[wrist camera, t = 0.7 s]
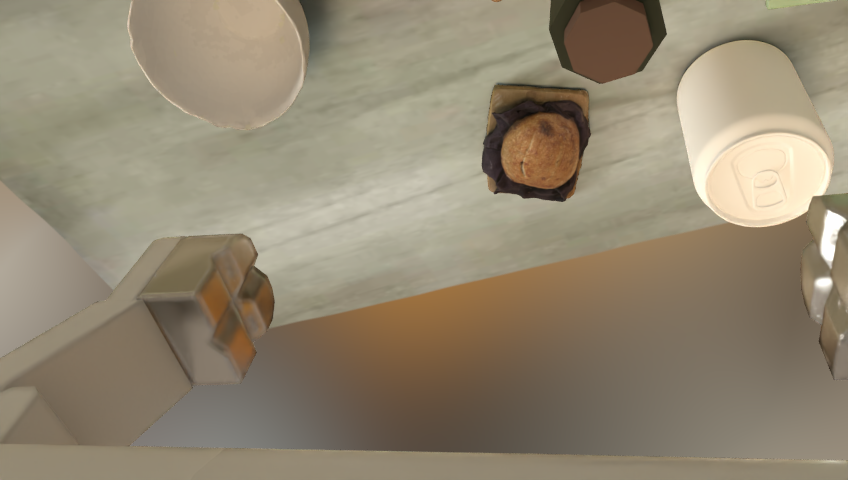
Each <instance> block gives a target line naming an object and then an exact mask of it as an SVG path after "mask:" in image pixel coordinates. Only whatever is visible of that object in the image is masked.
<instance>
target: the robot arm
mask: <svg viewBox="0 0 848 480" xmlns="http://www.w3.org/2000/svg"><path fill="white" fill-rule="evenodd" d="M806 223H807V225H808V227H809V230H810V232H811V234H812V236H813V240H812V241H811V242H810V243H809V244H808V245H807V246H806V247H805V248H804V249H803V250H802V258H801V268H800V273H801V290H802V295H803V299H804V304H805V306H806V309H807V311H808V315H809V317H810V318H811V319H813V320H814V321H816V322H817V323H819V324H820V325H821V331H820V338H819V344H820V346H821V349H822V351H823V354H824V356H825V358H826V361H827V363H828V366H829V369H830V371H831V374H832V376H833V379H834V380H848V193H843V194H831V195H819V196H813V197H812V199H811V202H810V204H809V208H808V214H807V221H806ZM257 256H258V253H257V251H256V249H255V247H254V245H253V243H252V241H251V239H250V238H249V237H247V236H245V235H243V234H223V235H201V236H188V237H185V236H180V237H167V238H161V239H158V240H154V241H153V242H152V243H151V245H150V246H149V247H148V248H147V250H146V251H145V252H144V253H143V255H142V256H141V257H140V258H139V260H138V261H137V262H136V263H135V265H134V266H133V267H132V268H131V270H130V271H129V272H128V273H127V275H126V276H125V277H124V278H123V280H122V281H121V282H120V283H119V285H118V286H117V287H116V288H115V289H114V291H113V292H112V293H111V294H110V296H109V297H108V298H107V300H106V301H97V302H95V303H93V304H92V305H90V306H88V307H87V308H85V309H83V310H82V311H80V312H78V313H77V314H75V315H73V316H71V317H70V318H68V319H66V320H65V321H63V322H61V323H59V324H58V325H56V326H54V327H53V328H51V329H49V330H47V331H46V332H44V333H42V334H41V335H39V336H37V337H36V338H34V339H32V340H30V341H29V342H27V343H25V344H24V345H22V346H20V347H18V348H17V349H15V350H13V351H12V352H10V353H8V354H7V355H5V356H3V357H2V358H0V480H848V460H801V459H800V460H799V459H794V460H793V459H750V458H705V457H704V458H703V457H702V458H701V457H657V456H611V455H566V454H564V455H563V454H516V453H515V454H514V453H462V452H409V451H406V452H405V451H354V450H300V449H250V448H249V449H248V448H247V449H246V448H198V447H148V446H145V447H144V446H130V445H131V444H132V443H133V442H134V441H135V440H136V439H137V438H139V437H140V435H142V434H143V433H144V432H145V431H146V430H147V429H148V428H150V426H152V425H153V424H154V423H155V422H156V421H157V420H158V419H159V418H161V417H162V416H163V415H164V414H165V413H166V412H167V411H168V410H169V409H171V408H172V407H173V405H175V404H176V403H177V402H178V401H179V400H180V399H182V398H183V397H184V396H185V395H186V394H187V393H188V392H189V391H190V390H191V389H192V388H193V387H192V386H193V385H221V384H241V383H242V380H243V379H244V377H245V375H246V373H247V371H248V369H249V367H250V364H251V363H252V361H253V359H254V357H255V355H256V350H255V347H254V345H253V342H254V341H256V340H257V339H258V338H260V337H261V336H262V335H263V334H265V333H266V332H267V330H268V328H269V326H270V324H271V321H272V319H273V311H274V303H275V302H274V296H273V290H272V286H271V284H270V282H269V279H268V277H267V276H266V275H265V274H264V273H263V272H261V271H260V270H259V269H258V268H256V267H255V266H254V265H255V262H256V259H257Z"/></svg>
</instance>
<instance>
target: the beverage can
mask: <svg viewBox="0 0 848 480" xmlns="http://www.w3.org/2000/svg"><path fill="white" fill-rule="evenodd" d="M677 107H678V112H679V116H680V121H681V126H682V130H683V135H684V140H685V144H686V149H687V153H688V158H689V163H690V167H691V172H692V177H693V181H694V185H695V188H696V191H697V193H698V195H699V196H700V198H701V199H702V200H703V202H704V203H705V204H706V205H707V206H708V207H710V208H711V209H712V210H713V211H714V212H715V213H716V214H717V215H718V216H720V217H721V218H723V219H725V220H726V221H729V222H731V223H734V224H737V225H742V226H748V227H765V226H772V225H777V224H781V223H784V222H787V221H790V220H792V219H794V218H796V217H798V216H800V215H802V214H803V213H805V212H806V211H808V208H809V204H810V202H811V199H812V197H813V196H819V195H824V193H825V192H826V190H827V188H828V185H829V183H830V179H831V173H832V169H833V165H834V150H833V146H832V143H831V140H830V138H829V136H828V134H827V132H826V130H825V128H824V126H823V124H822V122H821V120H820V118H819V116H818V114H817V112H816V110H815V108H814V106H813V104H812V102H811V100H810V98H809V96H808V94H807V92H806V90H805V88H804V86H803V84H802V82H801V80H800V78H799V76H798V74H797V72H796V70H795V68H794V66H793V65H792V63H791V61H790V60H789V58H788V57H787V56H786V55H785V54H784V53H783V52H782V51H781V50H779V49H778V48H776V47H774V46H772V45H770V44H767V43H764V42H760V41H753V40H741V41H734V42H729V43H726V44H722V45H720V46H717V47H715V48H713V49H711V50H709V51H708V52H706V53H704V54H703V55H702V56H700V57H699V58H698V59H697V60H696V61H694V62H693V63H692V65H691V66H690V67H689V68H688V69H687V71H686V72H685V74H684V75H683V77H682V79H681V81H680V84H679V87H678V91H677Z"/></svg>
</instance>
